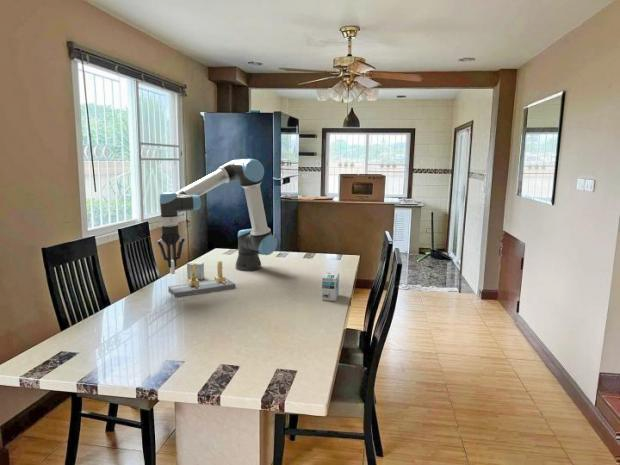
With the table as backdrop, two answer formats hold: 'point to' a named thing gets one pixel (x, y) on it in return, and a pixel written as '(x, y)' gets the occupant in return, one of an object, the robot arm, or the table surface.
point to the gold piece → (193, 276)
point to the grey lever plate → (204, 285)
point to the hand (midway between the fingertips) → (172, 273)
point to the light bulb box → (330, 286)
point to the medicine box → (198, 270)
